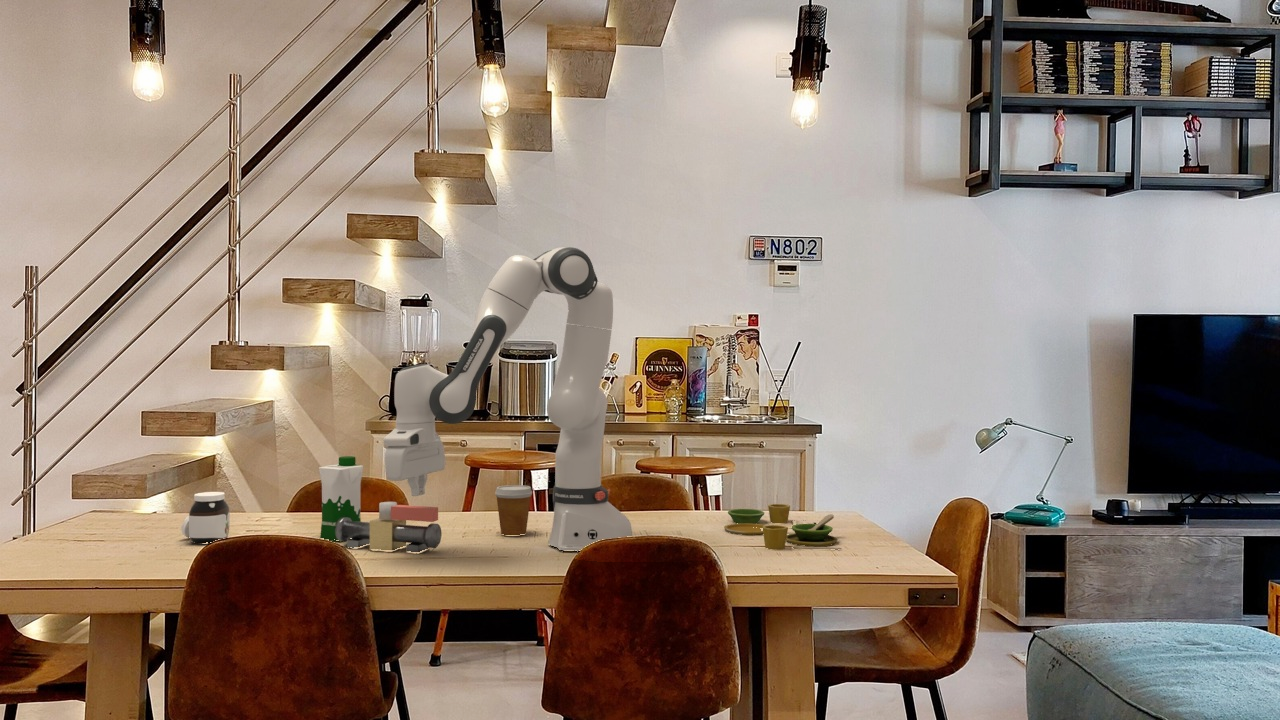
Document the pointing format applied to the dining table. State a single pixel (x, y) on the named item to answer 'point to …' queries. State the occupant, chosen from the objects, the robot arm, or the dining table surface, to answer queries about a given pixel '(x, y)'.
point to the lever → (407, 512)
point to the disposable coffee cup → (513, 508)
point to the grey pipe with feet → (388, 534)
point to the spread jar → (207, 518)
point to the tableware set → (781, 528)
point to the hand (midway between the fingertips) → (418, 495)
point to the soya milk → (340, 494)
